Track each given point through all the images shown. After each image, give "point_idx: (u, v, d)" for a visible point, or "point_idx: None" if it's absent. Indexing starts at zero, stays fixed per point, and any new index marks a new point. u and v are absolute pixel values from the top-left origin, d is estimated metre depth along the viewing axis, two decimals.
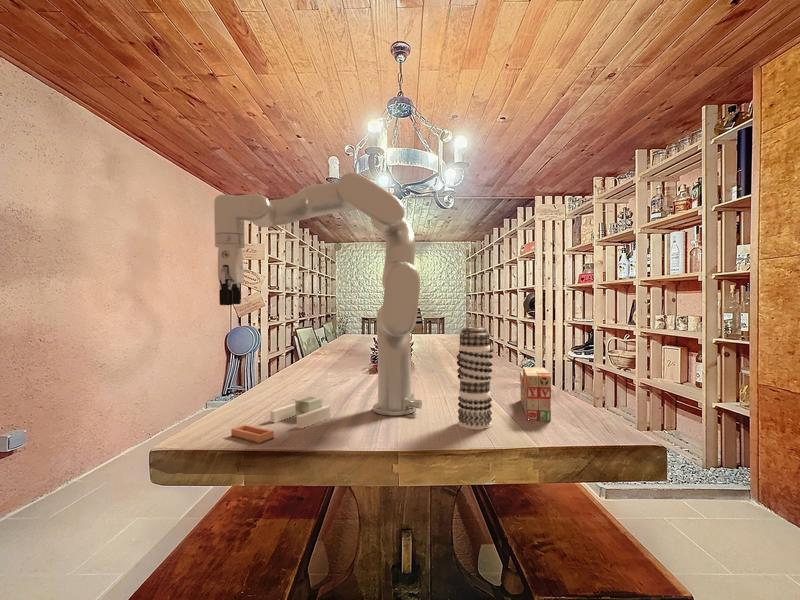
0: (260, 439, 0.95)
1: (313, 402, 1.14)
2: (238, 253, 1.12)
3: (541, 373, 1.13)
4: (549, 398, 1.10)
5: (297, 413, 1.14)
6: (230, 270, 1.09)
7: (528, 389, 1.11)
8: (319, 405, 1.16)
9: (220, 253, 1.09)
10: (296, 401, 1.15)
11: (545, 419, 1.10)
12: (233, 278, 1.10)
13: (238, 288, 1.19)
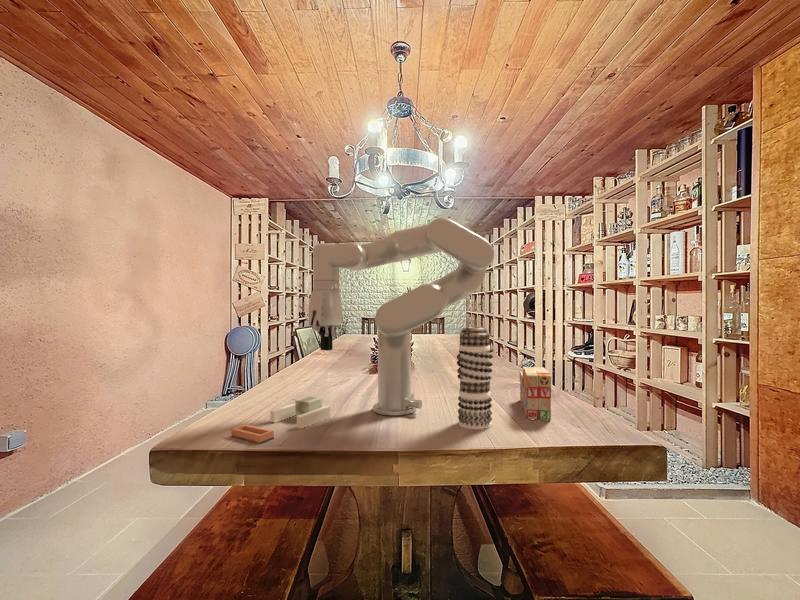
0: (260, 439, 0.95)
1: (313, 402, 1.14)
2: None
3: (541, 373, 1.13)
4: (549, 398, 1.10)
5: (297, 413, 1.14)
6: None
7: (528, 389, 1.11)
8: (319, 405, 1.16)
9: None
10: (296, 401, 1.15)
11: (545, 419, 1.11)
12: None
13: None
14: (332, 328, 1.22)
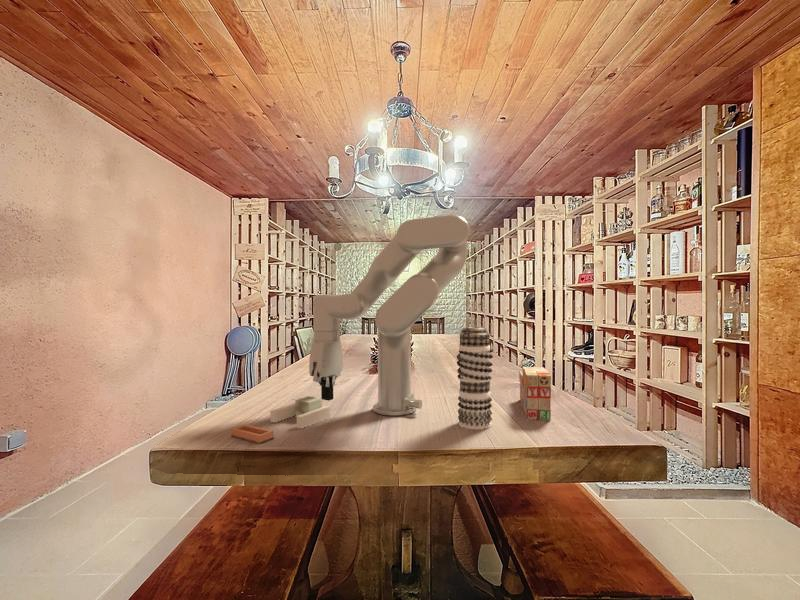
0: (260, 439, 0.95)
1: (313, 402, 1.14)
2: None
3: (541, 373, 1.14)
4: (549, 397, 1.10)
5: (297, 413, 1.14)
6: None
7: (528, 389, 1.11)
8: (319, 405, 1.16)
9: None
10: (296, 401, 1.15)
11: (545, 418, 1.11)
12: None
13: None
14: (333, 377, 1.23)
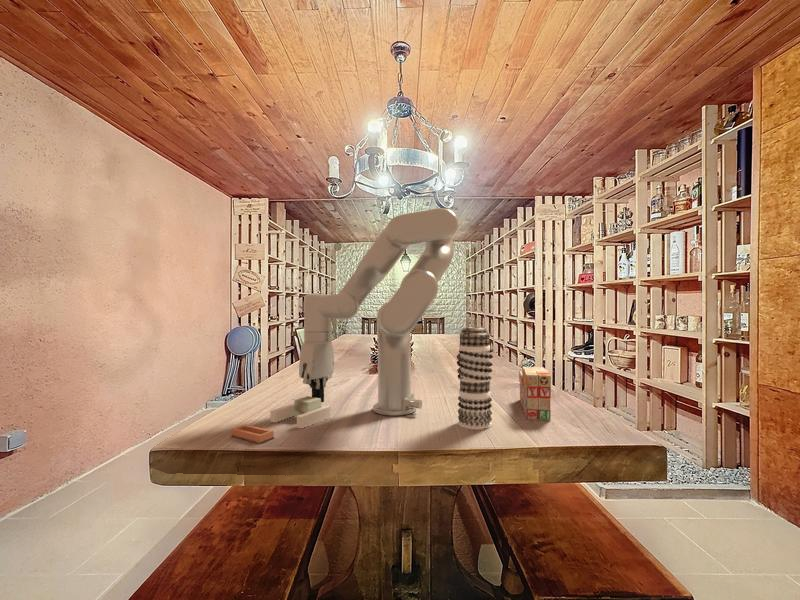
0: (260, 439, 0.95)
1: (312, 402, 1.13)
2: None
3: (541, 373, 1.14)
4: (549, 397, 1.11)
5: (296, 413, 1.14)
6: None
7: (528, 388, 1.12)
8: (318, 405, 1.15)
9: None
10: (295, 401, 1.14)
11: (545, 418, 1.11)
12: None
13: None
14: (324, 379, 1.19)
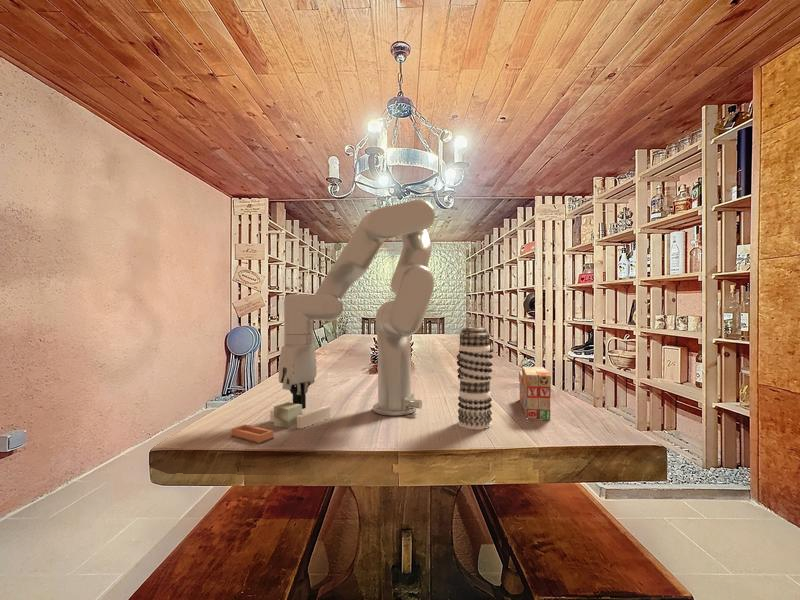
0: (260, 439, 0.95)
1: (292, 408, 1.07)
2: None
3: (541, 372, 1.14)
4: (549, 397, 1.11)
5: (275, 420, 1.08)
6: None
7: (528, 388, 1.12)
8: (299, 412, 1.09)
9: None
10: (274, 407, 1.08)
11: (545, 418, 1.11)
12: None
13: None
14: (305, 384, 1.13)
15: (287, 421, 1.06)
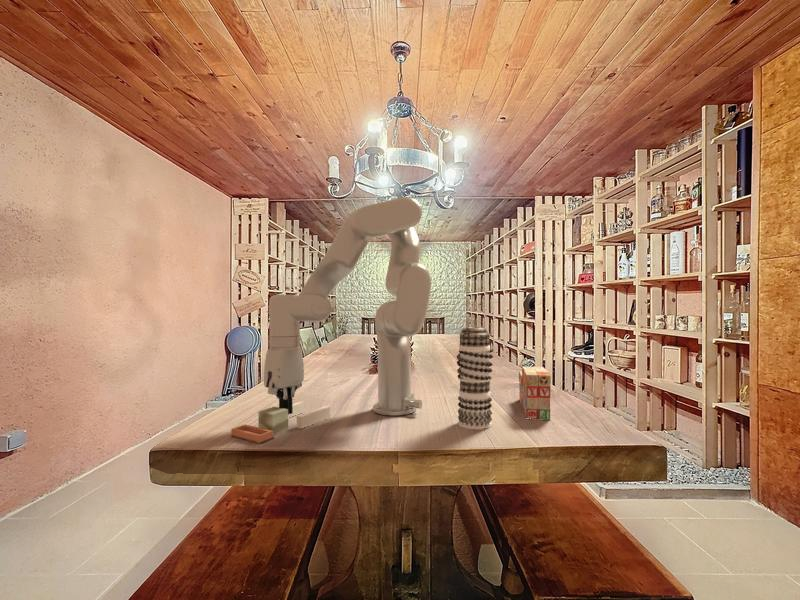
0: (260, 439, 0.95)
1: (278, 413, 1.03)
2: None
3: (540, 372, 1.14)
4: (548, 397, 1.11)
5: (260, 426, 1.03)
6: None
7: (528, 388, 1.12)
8: (285, 417, 1.05)
9: None
10: (259, 412, 1.03)
11: (545, 418, 1.11)
12: None
13: None
14: (292, 389, 1.09)
15: (272, 427, 1.01)
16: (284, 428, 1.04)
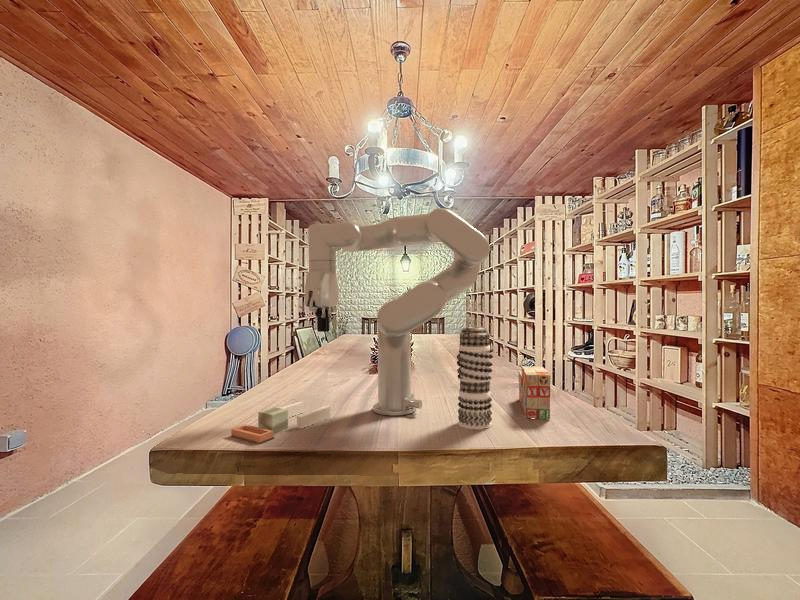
0: (260, 439, 0.95)
1: (277, 414, 1.03)
2: None
3: (540, 372, 1.14)
4: (548, 397, 1.11)
5: (260, 426, 1.03)
6: None
7: (528, 388, 1.12)
8: (284, 418, 1.04)
9: None
10: (259, 413, 1.03)
11: (544, 417, 1.12)
12: None
13: None
14: (329, 309, 1.21)
15: (271, 427, 1.01)
16: (284, 429, 1.04)
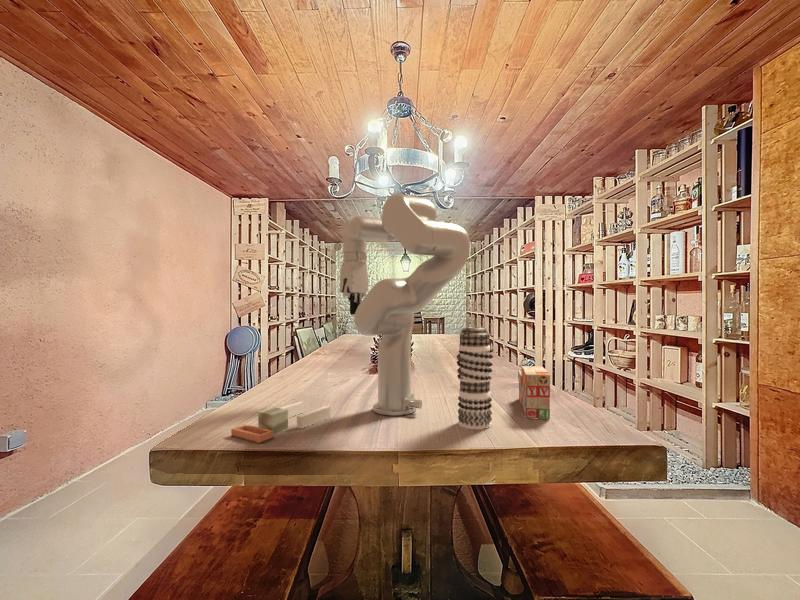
0: (260, 439, 0.95)
1: (277, 414, 1.03)
2: None
3: (540, 372, 1.15)
4: (548, 396, 1.12)
5: (260, 426, 1.03)
6: None
7: (527, 388, 1.12)
8: (284, 418, 1.04)
9: None
10: (259, 413, 1.03)
11: (544, 417, 1.12)
12: None
13: None
14: (360, 295, 1.39)
15: (271, 427, 1.01)
16: (284, 429, 1.04)
